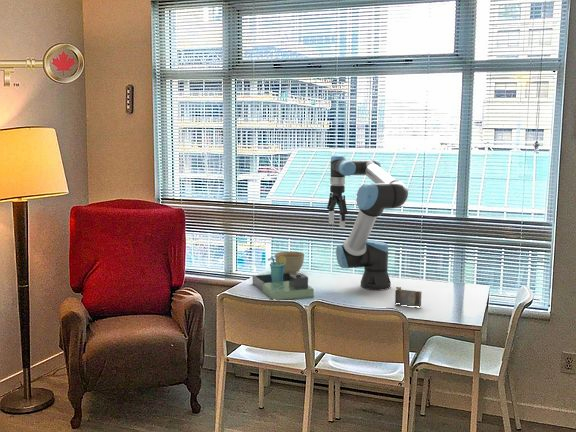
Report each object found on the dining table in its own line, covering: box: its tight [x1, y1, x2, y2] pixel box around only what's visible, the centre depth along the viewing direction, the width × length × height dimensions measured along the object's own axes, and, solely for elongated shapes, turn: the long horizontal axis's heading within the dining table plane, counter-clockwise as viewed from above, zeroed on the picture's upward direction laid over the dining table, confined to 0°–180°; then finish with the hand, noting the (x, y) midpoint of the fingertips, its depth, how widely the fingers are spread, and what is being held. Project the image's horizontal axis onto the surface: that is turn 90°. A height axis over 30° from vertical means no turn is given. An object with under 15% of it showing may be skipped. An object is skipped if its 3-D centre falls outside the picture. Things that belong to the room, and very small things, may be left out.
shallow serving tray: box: [252, 270, 315, 300], centre depth 319 cm, size 33×20×11 cm, turn 21°
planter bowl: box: [274, 251, 305, 275], centre depth 354 cm, size 16×16×11 cm
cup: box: [267, 256, 287, 282], centre depth 326 cm, size 14×8×15 cm, turn 147°
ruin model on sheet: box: [394, 286, 422, 307], centre depth 292 cm, size 11×3×10 cm, turn 68°
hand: (336, 225), depth 340 cm, fingers open, 13 cm apart
